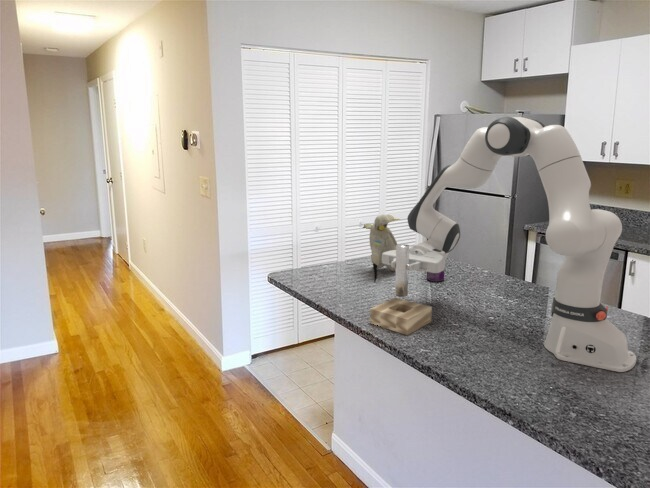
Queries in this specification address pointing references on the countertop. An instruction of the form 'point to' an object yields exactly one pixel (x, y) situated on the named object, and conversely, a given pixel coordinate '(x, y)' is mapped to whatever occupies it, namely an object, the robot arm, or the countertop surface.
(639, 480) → the countertop surface
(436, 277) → the beverage can
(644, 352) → the countertop surface
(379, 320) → the socket block
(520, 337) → the countertop surface
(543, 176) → the robot arm
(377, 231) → the figurine
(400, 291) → the pin
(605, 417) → the countertop surface
